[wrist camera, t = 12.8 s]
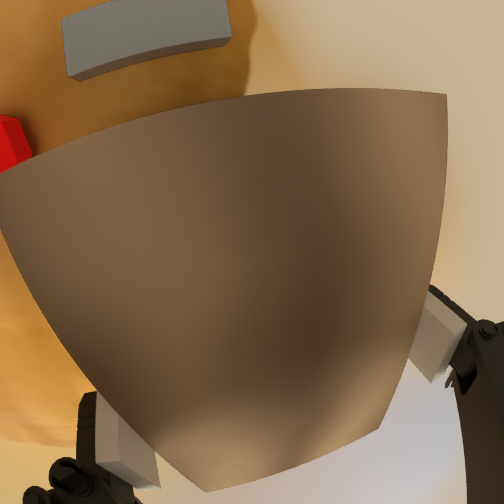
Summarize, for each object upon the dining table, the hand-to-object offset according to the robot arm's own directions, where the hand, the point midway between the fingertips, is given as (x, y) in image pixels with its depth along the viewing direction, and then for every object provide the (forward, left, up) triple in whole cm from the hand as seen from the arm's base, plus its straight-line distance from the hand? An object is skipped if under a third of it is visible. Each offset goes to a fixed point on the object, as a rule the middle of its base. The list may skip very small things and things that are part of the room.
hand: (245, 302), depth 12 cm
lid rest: (-2, +17, -19) cm, 26 cm away
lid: (0, 0, +3) cm, 3 cm away
